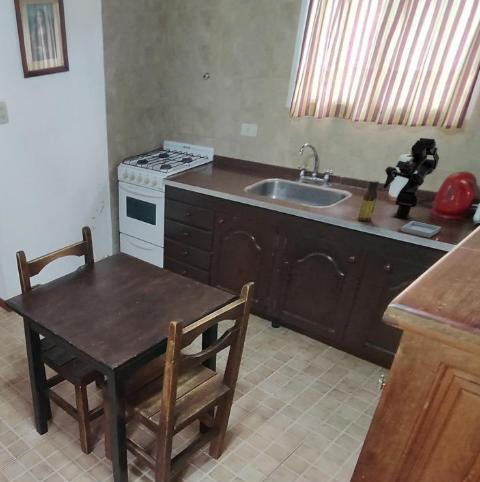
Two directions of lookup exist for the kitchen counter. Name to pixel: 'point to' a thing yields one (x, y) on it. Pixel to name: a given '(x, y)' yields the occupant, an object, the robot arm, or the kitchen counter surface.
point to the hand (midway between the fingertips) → (391, 190)
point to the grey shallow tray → (420, 229)
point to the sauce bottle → (369, 202)
